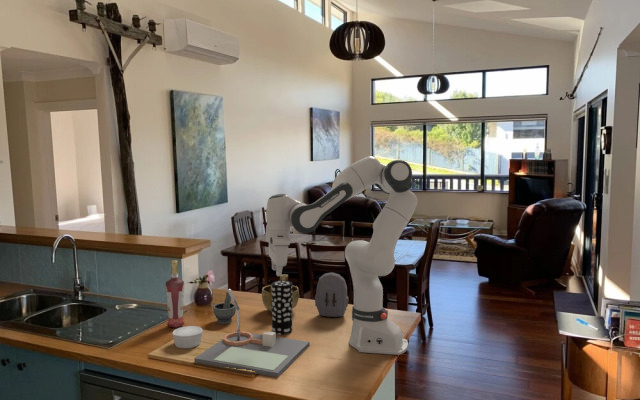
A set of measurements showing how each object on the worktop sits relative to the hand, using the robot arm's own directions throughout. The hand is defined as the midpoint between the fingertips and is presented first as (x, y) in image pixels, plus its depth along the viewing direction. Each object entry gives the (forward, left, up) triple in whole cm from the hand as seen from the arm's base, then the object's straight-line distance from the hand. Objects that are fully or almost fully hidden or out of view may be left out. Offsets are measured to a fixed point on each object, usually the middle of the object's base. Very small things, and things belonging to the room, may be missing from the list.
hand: (276, 272), depth 184 cm
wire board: (+3, +13, -27) cm, 30 cm away
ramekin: (+31, +14, -28) cm, 44 cm away
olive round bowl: (+14, -33, -28) cm, 45 cm away
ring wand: (+8, +7, -26) cm, 28 cm away
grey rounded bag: (-10, -35, -28) cm, 46 cm away
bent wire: (+13, +10, -26) cm, 31 cm away
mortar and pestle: (+31, -13, -28) cm, 44 cm away
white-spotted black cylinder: (+3, -11, -28) cm, 30 cm away
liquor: (+47, 0, -28) cm, 54 cm away
